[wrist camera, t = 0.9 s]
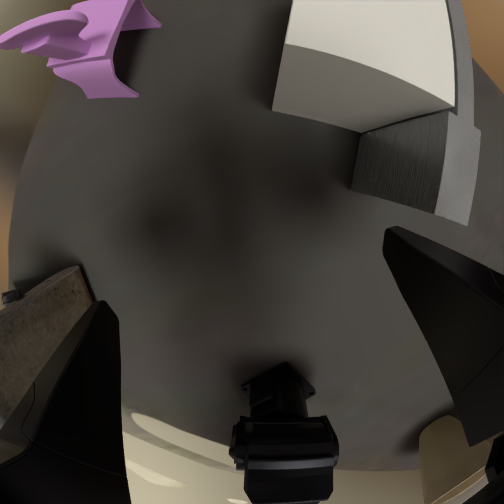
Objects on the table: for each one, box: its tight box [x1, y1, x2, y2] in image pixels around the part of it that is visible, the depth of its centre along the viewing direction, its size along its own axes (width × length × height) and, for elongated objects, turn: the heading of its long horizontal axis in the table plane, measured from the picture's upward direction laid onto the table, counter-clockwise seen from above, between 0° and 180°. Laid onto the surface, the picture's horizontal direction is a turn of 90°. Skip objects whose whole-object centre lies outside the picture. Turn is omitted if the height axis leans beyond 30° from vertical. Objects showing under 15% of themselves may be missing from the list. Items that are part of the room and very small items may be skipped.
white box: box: [272, 0, 455, 133], centre depth 13 cm, size 11×8×13 cm
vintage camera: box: [0, 265, 93, 429], centre depth 18 cm, size 10×16×20 cm, turn 102°
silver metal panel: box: [351, 0, 481, 226], centre depth 14 cm, size 15×2×12 cm, turn 170°
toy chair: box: [0, 0, 162, 99], centre depth 12 cm, size 8×9×15 cm
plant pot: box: [419, 415, 492, 504], centre depth 25 cm, size 15×15×16 cm
